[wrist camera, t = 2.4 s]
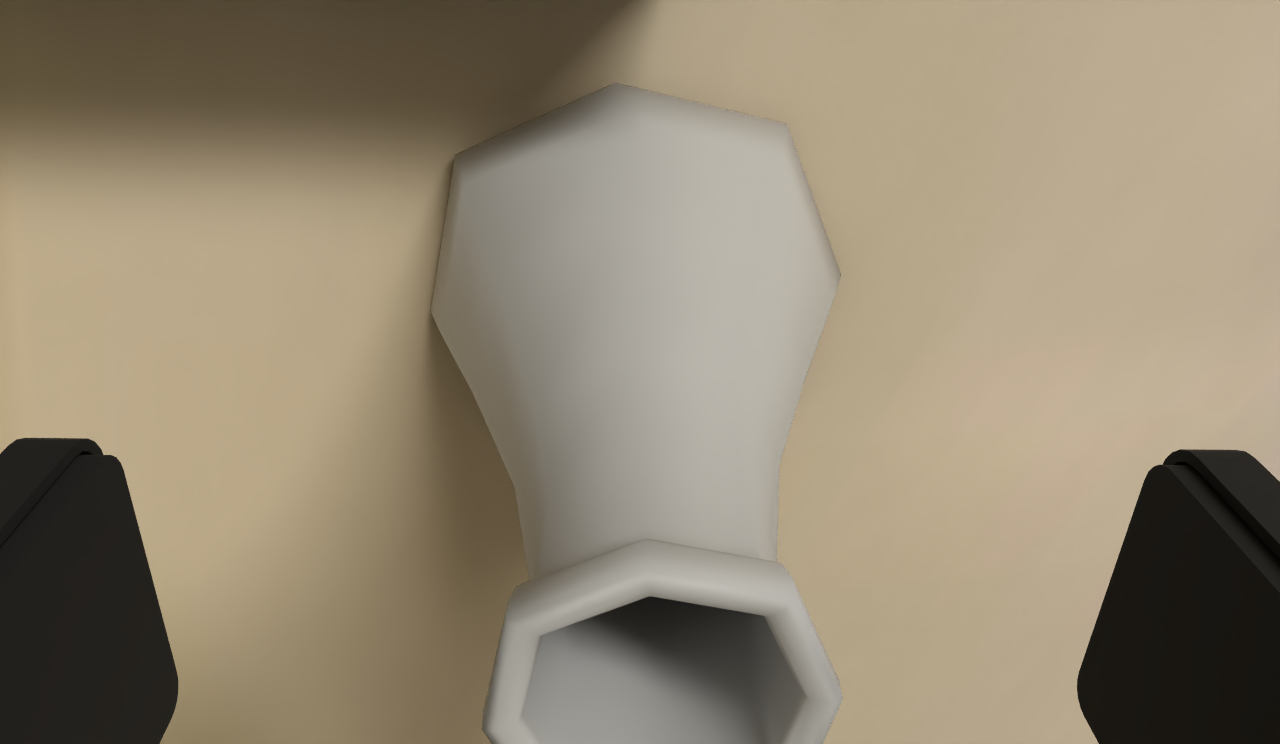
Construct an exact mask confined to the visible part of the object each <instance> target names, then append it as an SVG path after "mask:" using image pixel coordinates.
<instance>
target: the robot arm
mask: <svg viewBox="0 0 1280 744" xmlns="http://www.w3.org/2000/svg"><path fill="white" fill-rule="evenodd" d="M1077 692H1078V699H1079V703H1080V707H1081V710H1082V712H1083V715H1084V717H1085V719H1086V720H1087V722H1088V724H1089V726H1090V728H1091V730H1092V732H1093V733H1094V735H1095V737H1096V739H1097V741H1098V743H1099V744H1280V482H1279V481H1278V480H1277V479H1276V478H1275V477H1274V476H1273V475H1272V474H1271V473H1270V472H1269V471H1268V470H1267V469H1266V468H1265V467H1264V466H1263V465H1262V464H1261V463H1260V462H1258V461H1257V460H1256V459H1255V458H1254V457H1253V456H1251V455H1250V454H1248V453H1247V452H1244V451H1238V450H1178V451H1175V452H1172V453H1171V454H1170V455H1169V456H1168V457H1167V458H1166V459H1165V461H1164V463H1163V465H1157V466H1155V467H1153V468H1152V469H1151V470H1150V471H1149V472H1148V474H1147V476H1146V478H1145V480H1144V483H1143V486H1142V489H1141V492H1140V495H1139V498H1138V501H1137V503H1136V506H1135V509H1134V512H1133V515H1132V518H1131V521H1130V524H1129V527H1128V530H1127V533H1126V536H1125V539H1124V542H1123V545H1122V548H1121V550H1120V553H1119V556H1118V559H1117V562H1116V565H1115V568H1114V571H1113V574H1112V577H1111V580H1110V583H1109V586H1108V589H1107V592H1106V595H1105V597H1104V600H1103V603H1102V606H1101V609H1100V612H1099V615H1098V618H1097V621H1096V624H1095V627H1094V630H1093V633H1092V636H1091V639H1090V641H1089V644H1088V647H1087V650H1086V653H1085V656H1084V659H1083V662H1082V665H1081V668H1080V671H1079V675H1078V680H1077ZM177 696H178V676H177V671H176V667H175V663H174V660H173V656H172V652H171V648H170V644H169V641H168V637H167V633H166V629H165V625H164V622H163V618H162V614H161V610H160V606H159V603H158V599H157V595H156V591H155V588H154V584H153V580H152V576H151V572H150V569H149V565H148V561H147V557H146V553H145V550H144V546H143V542H142V538H141V535H140V531H139V527H138V523H137V519H136V516H135V512H134V508H133V504H132V500H131V497H130V493H129V489H128V485H127V482H126V478H125V474H124V470H123V468H122V465H121V463H120V462H119V460H118V459H117V458H116V457H114V456H112V455H103V453H102V450H101V448H100V447H99V446H98V445H97V444H96V442H94V441H92V440H90V439H74V438H23V439H17V440H16V441H14V442H13V443H11V444H10V445H9V446H8V447H7V448H6V449H5V450H4V451H3V452H2V453H1V454H0V744H159V743H160V741H161V739H162V737H163V735H164V733H165V731H166V729H167V727H168V725H169V722H170V720H171V718H172V716H173V713H174V710H175V706H176V702H177Z"/></svg>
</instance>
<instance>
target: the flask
mask: <svg viewBox="0 0 1280 744" xmlns="http://www.w3.org/2000/svg"><path fill="white" fill-rule="evenodd" d="M840 277H841V273H840V270H839V267H838V264H837V261H836V259H835V256H834V253H833V250H832V248H831V245H830V242H829V239H828V237H827V234H826V231H825V228H824V225H823V223H822V220H821V217H820V214H819V212H818V209H817V206H816V203H815V200H814V198H813V195H812V192H811V189H810V187H809V184H808V181H807V178H806V176H805V173H804V170H803V167H802V164H801V162H800V159H799V156H798V153H797V151H796V148H795V145H794V142H793V139H792V137H791V134H790V131H789V128H788V126H787V124H785V123H781V122H777V121H772V120H768V119H764V118H760V117H756V116H752V115H748V114H743V113H739V112H735V111H731V110H727V109H723V108H718V107H714V106H710V105H706V104H702V103H698V102H694V101H689V100H685V99H681V98H677V97H673V96H669V95H664V94H660V93H656V92H652V91H648V90H644V89H640V88H635V87H631V86H627V85H623V84H619V83H614V84H611V85H609V86H607V87H605V88H603V89H600V90H598V91H596V92H594V93H591V94H589V95H587V96H585V97H582V98H580V99H578V100H576V101H574V102H571V103H569V104H567V105H565V106H562V107H560V108H558V109H556V110H554V111H551V112H549V113H547V114H545V115H542V116H540V117H538V118H536V119H533V120H531V121H529V122H527V123H525V124H522V125H520V126H518V127H516V128H513V129H511V130H509V131H507V132H505V133H502V134H500V135H498V136H496V137H493V138H491V139H489V140H487V141H484V142H482V143H480V144H478V145H476V146H473V147H471V148H469V149H467V150H464V151H462V152H460V153H458V154H456V155H455V160H454V166H453V173H452V179H451V185H450V192H449V198H448V204H447V211H446V217H445V223H444V230H443V236H442V242H441V249H440V255H439V261H438V268H437V274H436V280H435V287H434V293H433V299H432V306H431V313H432V316H433V318H434V320H435V322H436V325H437V327H438V329H439V331H440V333H441V335H442V337H443V339H444V341H445V343H446V344H447V346H448V348H449V350H450V352H451V354H452V356H453V358H454V359H455V361H456V363H457V365H458V367H459V369H460V371H461V372H462V374H463V376H464V378H465V380H466V382H467V384H468V385H469V387H470V389H471V391H472V393H473V395H474V397H475V400H476V402H477V404H478V406H479V409H480V411H481V413H482V415H483V418H484V420H485V422H486V424H487V427H488V429H489V431H490V433H491V436H492V438H493V440H494V442H495V445H496V447H497V449H498V451H499V454H500V456H501V458H502V460H503V463H504V465H505V467H506V469H507V472H508V474H509V476H510V478H511V481H512V483H513V485H514V487H515V494H516V500H517V506H518V513H519V519H520V525H521V531H522V538H523V544H524V550H525V556H526V563H527V569H528V575H529V582H526V583H523V584H521V585H519V586H517V587H516V588H515V590H514V592H513V594H512V596H511V598H510V600H509V601H508V605H507V609H506V614H505V618H504V622H503V627H502V631H501V635H500V640H499V644H498V648H497V653H496V657H495V661H494V666H493V670H492V675H491V679H490V683H489V688H488V692H487V696H486V701H485V705H484V709H483V721H482V730H483V732H484V733H485V734H486V736H487V737H488V739H489V740H490V741H491V743H492V744H823V742H824V740H825V737H826V735H827V733H828V731H829V728H830V726H831V724H832V722H833V719H834V717H835V715H836V713H837V711H838V708H839V706H840V704H841V702H842V699H843V698H842V693H841V688H840V683H839V679H838V677H837V675H836V673H835V670H834V668H833V666H832V664H831V662H830V659H829V657H828V655H827V653H826V651H825V649H824V646H823V644H822V642H821V640H820V638H819V635H818V633H817V631H816V629H815V627H814V624H813V622H812V620H811V618H810V616H809V613H808V611H807V609H806V607H805V605H804V602H803V600H802V598H801V596H800V594H799V591H798V589H797V587H796V585H795V583H794V580H793V578H792V577H791V575H790V574H789V572H788V571H787V569H786V568H785V566H784V565H783V564H781V563H778V561H777V532H778V500H779V469H780V461H781V458H782V454H783V451H784V448H785V444H786V441H787V438H788V434H789V431H790V427H791V424H792V421H793V417H794V414H795V410H796V407H797V404H798V400H799V397H800V394H801V390H802V387H803V384H804V381H805V378H806V375H807V373H808V370H809V367H810V364H811V361H812V359H813V356H814V353H815V350H816V347H817V345H818V342H819V339H820V336H821V333H822V330H823V328H824V325H825V322H826V319H827V316H828V314H829V311H830V308H831V305H832V302H833V299H834V297H835V293H836V290H837V287H838V283H839V280H840Z"/></svg>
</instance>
